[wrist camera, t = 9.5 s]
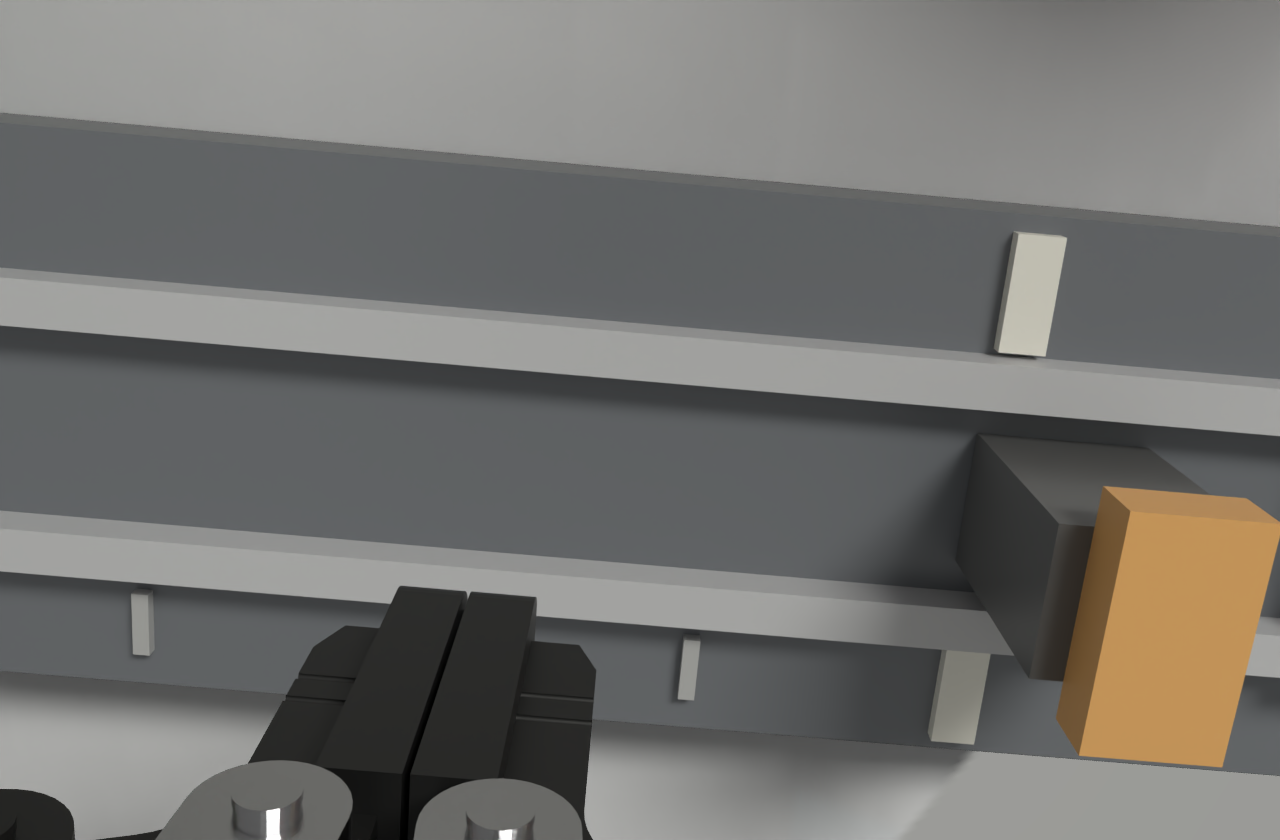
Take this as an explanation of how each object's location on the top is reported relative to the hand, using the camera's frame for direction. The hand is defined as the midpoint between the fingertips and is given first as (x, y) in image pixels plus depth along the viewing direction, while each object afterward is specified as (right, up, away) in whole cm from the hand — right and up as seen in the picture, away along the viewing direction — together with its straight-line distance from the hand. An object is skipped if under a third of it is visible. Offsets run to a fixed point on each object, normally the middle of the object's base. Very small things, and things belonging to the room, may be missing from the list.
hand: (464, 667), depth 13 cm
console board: (+1, +3, +10) cm, 10 cm away
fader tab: (+9, +1, +8) cm, 12 cm away
